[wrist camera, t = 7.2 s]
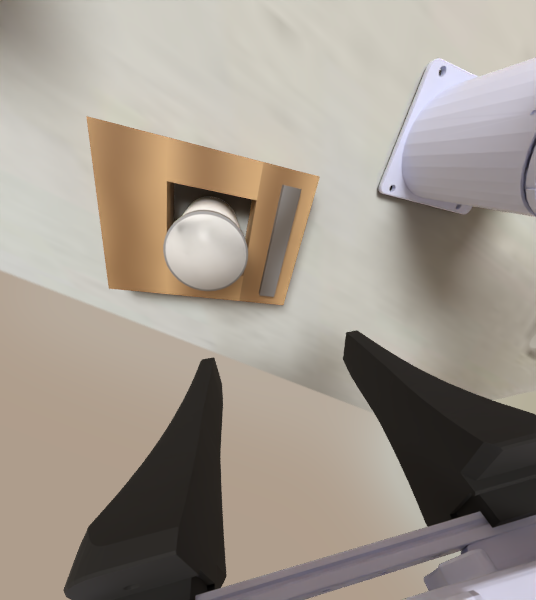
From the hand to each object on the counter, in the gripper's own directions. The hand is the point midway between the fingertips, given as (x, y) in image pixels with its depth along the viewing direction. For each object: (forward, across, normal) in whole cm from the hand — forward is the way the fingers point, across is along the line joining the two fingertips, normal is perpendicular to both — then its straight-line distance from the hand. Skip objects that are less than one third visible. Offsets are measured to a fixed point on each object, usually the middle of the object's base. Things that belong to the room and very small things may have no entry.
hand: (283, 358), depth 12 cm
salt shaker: (+10, +3, -5) cm, 12 cm away
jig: (+10, +3, -5) cm, 12 cm away
